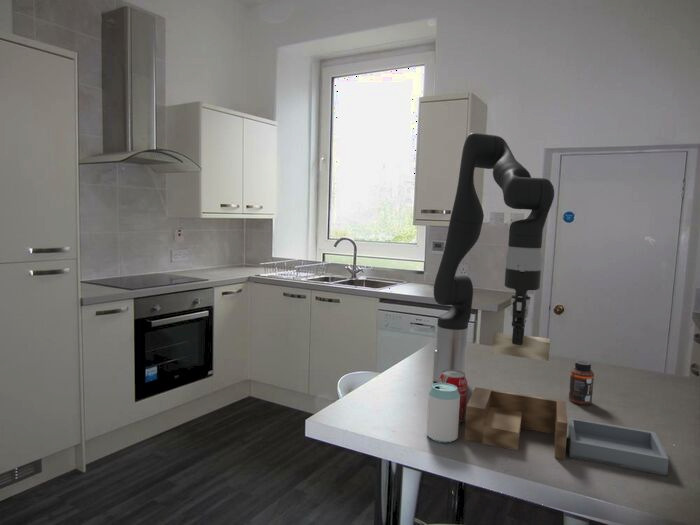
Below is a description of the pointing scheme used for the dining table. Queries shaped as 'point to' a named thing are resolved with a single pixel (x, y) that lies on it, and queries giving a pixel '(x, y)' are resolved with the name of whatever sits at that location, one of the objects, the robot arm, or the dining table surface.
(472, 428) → the open wooden box frame
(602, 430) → the tray
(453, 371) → the soda can
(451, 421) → the can
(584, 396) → the supplement bottle
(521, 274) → the robot arm
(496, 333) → the slab
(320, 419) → the dining table surface
